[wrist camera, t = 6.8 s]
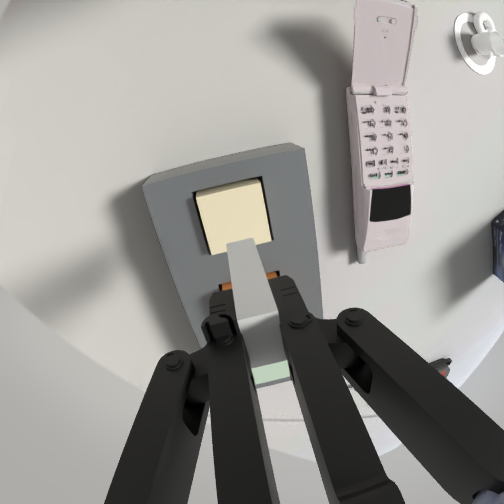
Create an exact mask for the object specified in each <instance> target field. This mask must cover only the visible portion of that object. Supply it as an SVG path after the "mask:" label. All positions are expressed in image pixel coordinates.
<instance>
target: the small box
mask: <svg viewBox="0 0 504 504" xmlns="http://www.w3.org/2000/svg"><path fill="white" fill-rule="evenodd" d="M492 233H493V274H494V275H495V276H497V277H498V278H499V279H500V280H501V281H503V282H504V212H503V213H501V214H500V215H499V216H498V217H497V218H495V219H494V220H493V221H492Z"/></svg>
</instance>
